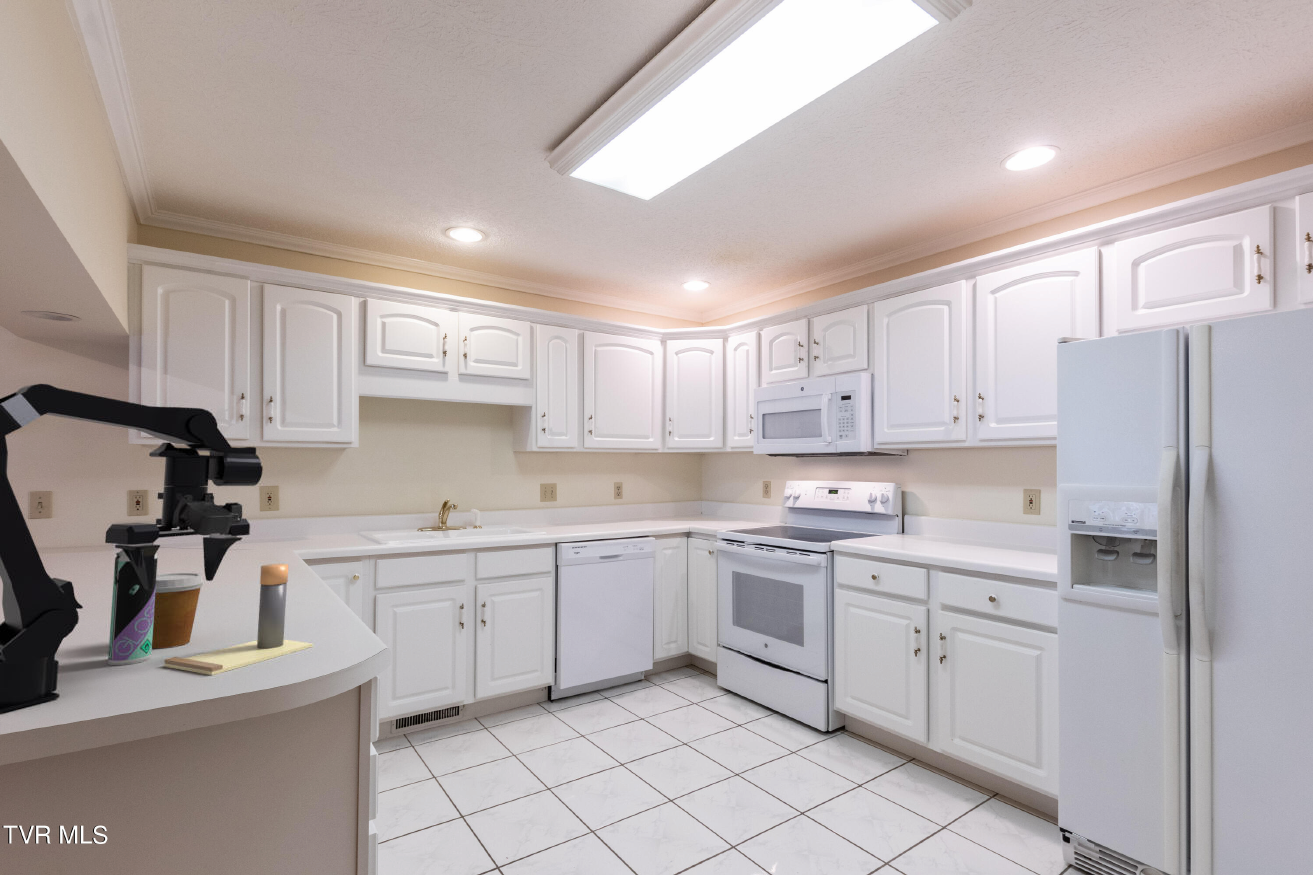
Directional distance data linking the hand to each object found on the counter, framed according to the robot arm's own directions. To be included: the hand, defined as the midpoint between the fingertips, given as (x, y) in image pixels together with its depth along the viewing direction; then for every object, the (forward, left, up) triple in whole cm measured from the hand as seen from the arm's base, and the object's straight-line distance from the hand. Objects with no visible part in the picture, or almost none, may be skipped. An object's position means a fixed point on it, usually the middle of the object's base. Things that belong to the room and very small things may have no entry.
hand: (180, 584), depth 101 cm
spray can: (0, +11, -13) cm, 17 cm away
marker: (+14, -3, -12) cm, 19 cm away
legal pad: (+9, -3, -13) cm, 16 cm away
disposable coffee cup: (+9, +16, -13) cm, 23 cm away
